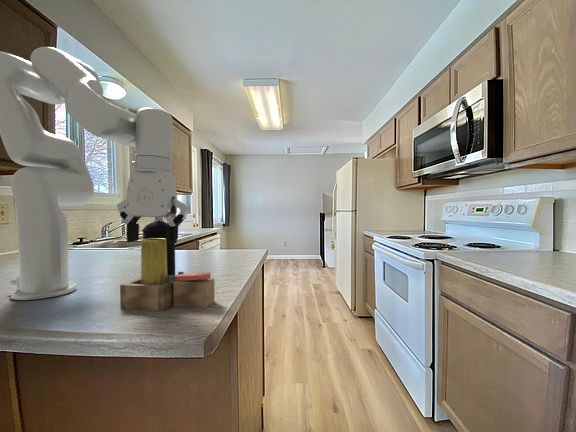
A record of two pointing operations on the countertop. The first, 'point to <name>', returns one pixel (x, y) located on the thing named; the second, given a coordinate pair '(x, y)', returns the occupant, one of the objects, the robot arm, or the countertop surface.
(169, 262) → the aerosol can
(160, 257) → the vase
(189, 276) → the keeper bar
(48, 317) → the countertop surface
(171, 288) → the block
